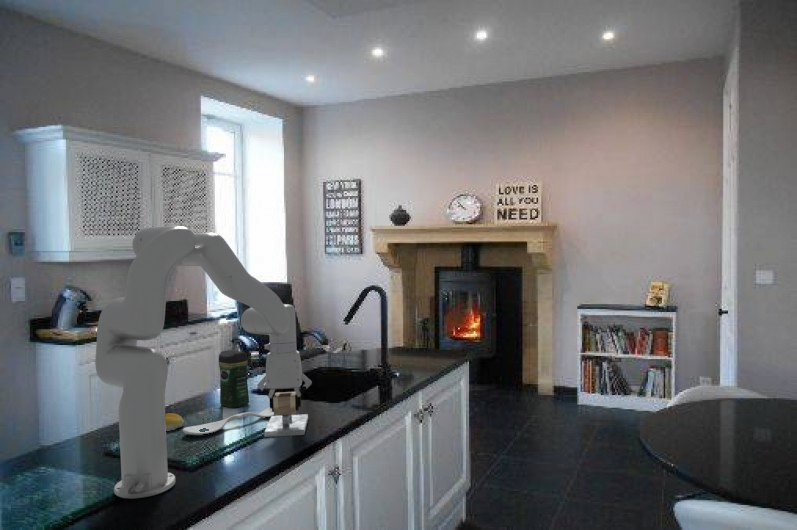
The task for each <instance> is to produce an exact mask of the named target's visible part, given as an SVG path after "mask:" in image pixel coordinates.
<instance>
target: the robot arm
mask: <svg viewBox="0 0 797 530" xmlns="http://www.w3.org/2000/svg"><path fill="white" fill-rule="evenodd" d="M131 245H132V251H133V252H134V254H135V257H134V259H133V260H132V262H131V264H130V265H129V268H128V272H127V277H126V278H127V279H126V285H125V291H124V292H125V293H124V297H123V296H121V297H117V298H113V299H112V300H110V301H109V302H107V304H105V306H104V307H103V309H102V310H101V312H100V314H99V318H98V324H97V334H96V335H97V337H96V345H95V346H96V347H95V371H96V374H97V376H98V378H99V379H100V381H102V382H103V383H105V384H107V385H109V386H111V387H112V386H113V387H118V388H122V394H121V397H120V401H119V406H118V423H119V424H118V427H119V428H118V429H119V430H118V431H119V448H120V450H119V451H120V452H119V454H120V469H121V471H120V473H121V475H120V476H121V480H120V481H118V482H117V483H116V484H115V485H114V487H113V493H114V495H116V496H117V497H119V498H121V499H143V498H148V497H152V496H156V495H159V494H162V493H164V492H166V491H168V490H170V489H171V488H172V487H173V486H174V485H175V484H176V476H175V474H173V473H172V472H168V471H169V469H168V468H169V467H168V453H167V452H168V450H167V449H168V447H167V446H168V445H167V432H166V421H165V414H166V403H165V402H166V386H167V380H168V373H169V365H168V363H167V360H166V357H165V356H164V355H163V354H162V352H160V351H158V350H157V349H154V348H152V347H148V346H140V345H137V343H138V341H144V342H145V341H152V340H154V339H156V338H158V337H159V336H160V335H161V334H162V332H163V330H164V326H165V318H166V304H167V290H168V282H169V279H170V276H171V274H172V272H173V270H175V268H176V267H177V266H181V267H201V268H202V269H203V272H205V273H206V275H207V276H208V277H209V278H210V280H211V281H212V282H213V284H214V286H215V287H216V288H217V290H218V291H219V292H220V293H221V294H222V295H223V296H226V297H227V298H229V299H231V300H234V301H236V302H239V303H242V304H244V305H247V306H248V307H249V308H247V309H245V310H244V311H243V313H242V314H241V316H240V325H241V327H242V329H243V330H245V331H246V332H247V333H249V334H255V335H267V336H269V343H267V344H264V350H267V351H269V352H268V353H266V362H265V375H264V377H262V378H261V380H260V381H259V383H257V385H256V386H257V388H259V390H261V391H262V393H264V394H265V395H266V396H267V398H268V399H269V406H270V408H272V412H274V406H273V397H274V395H275V391H276V390H283V389H284V390H285V389H286V390H288V389H293V390H294V392H296V397H295V404H296V412H297V411H299V408H300V407H302V399H301V398H302V395H303V394H304V392H305V391H306V390H307V389H308V388H309V387H310V386H312V383H313V382H312V380H311V379H310V378H308V376H306V374H304V373H303V366H302V359H301V356H300V350H299V351H298V350H297V325H296V320H297V319H296V308H295V306H294V305H293V304H288V303H287V304H286V303H283V302H282V299H280V297H279V296H278V295H277V293H275V292H274V291H273V290H272V289H271V288H269V286H266V285H265V284H264V283H263V282H261V281H260V280H258V279H257V278H255V276H252V275H251V274H250V273H249V272H248V270H247V269H246V268H245V266H243V263H242V262H241V260H240V259H239V258H238V257H237V254H235V252H234V251H233V250H232V248H231V246H230V245H229V244H228V243H227V241H226V240H225V238H223V236H221V235H220V234H218V233H215V232H194V231H192V230H191V229H190V228H188V227H186V226H182V225H166V226H165V225H164V226H153V227H146V228H143V229H141V230H139V231H138V232H137V233H136V234H135V236H133V239H132V244H131ZM303 382H304V384H303V386H302V383H303ZM301 386H302V387H301Z"/></svg>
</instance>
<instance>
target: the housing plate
mask: <svg viewBox="0 0 797 530" xmlns="http://www.w3.org/2000/svg"><path fill="white" fill-rule="evenodd" d="M308 422H309V414H308V413H305V414H295V415H276V416H271V417H270V418H269V421H268V423H267V425H266V427H265V430H264V437H265V438H267V437H268V438H269V437H288V436H289V437H290V436H305V432H306V429H307V426H308V425H307V424H308Z"/></svg>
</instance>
